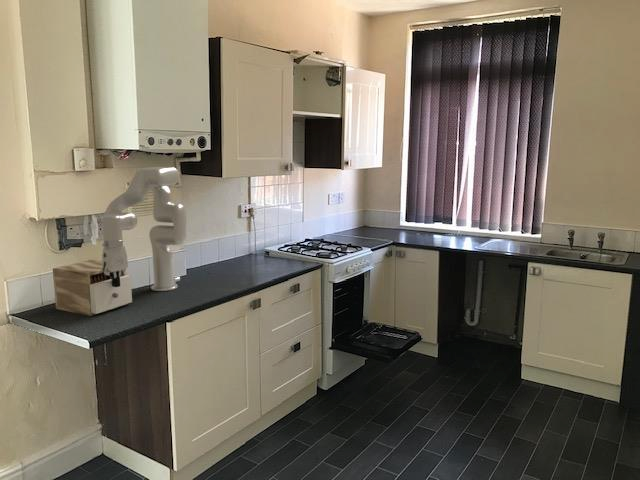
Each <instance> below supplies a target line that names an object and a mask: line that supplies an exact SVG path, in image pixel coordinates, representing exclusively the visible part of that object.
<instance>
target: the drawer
mask: <svg viewBox="0 0 640 480" xmlns="http://www.w3.org/2000/svg"><path fill="white" fill-rule="evenodd" d="M89 287H90V299H91V312H92V313H95V315H97V313H98V314H101V313H104V312H103V311H105V312H107V311H106V310H108V311H110V310H109V309H111V310H114V309H116V307H117V308H119V306H120V307H123V306H125V304H126V305H128V304H131V303H133V295H132V294H133V293H132V277H131V275H128V274H126V275H124V276H121V277H120V287H113V286H112V279H109V280H106V281H102V282H98V283H94V284H91V285H89ZM122 305H123V306H122ZM113 308H114V309H113ZM100 312H101V313H100Z"/></svg>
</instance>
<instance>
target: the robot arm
mask: <svg viewBox="0 0 640 480" xmlns="http://www.w3.org/2000/svg"><path fill="white" fill-rule="evenodd" d="M180 175H181V174H180V172H179V170H178V169H177V168H176V167H173V166H149V167H143V168H142V167H141V168H139V169H138V170H136V171H135V173H134V175H133V177H132V179H131V180H130V183H129V185H128V187H127V188H126V191H124V192H123V193H121V194H120V195H118V196H117V197H115V198H114V199H113V200H112V201H110V203H109V204H108V206H107V208H106V209H105V212H104V213H103V216H102V218H101V222H102V236H103V237H102V239H103V243H102V244H101V245H102V247H103V249H102V255H101V256H102V258H101V259H102V260H101V261H102V267H103V271H104V275H109V276H110V278H112V286H113V287H120V277H121V274H122V272H124V271H125V270H126V271H127V268H128V267H129V263H128V262H129V261H128V255H127V250H126V247H125V245H124V241H123V240H124V239H123V231H130V230H133V229H134V228H136V226H137V224H138V218H137V216H136V215H135V214H134V213H131V212H128V211H127V212H123V211H124V210H126V209H129V208H131V207H134V206H136V205H139V204H141V203H143V202H144V201H145V199H146V197H147V195H148V193H149V192H150V189H151V191H152V196H153V205H152V206H153V210H152V215H153V220H154V221H155V222H158V223H166V224H163V225H162V224H160V225H154V226H152V227H151V228H150V230H149V234H148V235H149V241H150V244H151V245H150V246H151V250H152V267H153V283H154V284H152V285H151V287H150V288H151V290H152V291H155V292H167V291H172V290H176V289H177V288H178V284H177V283H176V282H179V281H181V277H180V276H178V277H174V276H175V275H174V274H175V273H174V255H173V251H172V248H171V246H182V245H183V244H184V243H185V242H186V237H187V236H186V235H187V210H186V207H185V205H183V204H181V203H175V202H174V203H173V201H172V191H171V188H169V187H171V186H175V185H176V184H178V183H179V181H180ZM168 223H169V225H167V224H168ZM171 223H172V224H173V225H170V224H171Z"/></svg>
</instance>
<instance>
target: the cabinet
mask: <svg viewBox="0 0 640 480" xmlns="http://www.w3.org/2000/svg"><path fill="white" fill-rule="evenodd" d="M126 273H127V269H126V270H125V271H124V272H122V274H121V276H124V275H127V274H126ZM101 274H102V276H103V280H104V271H103V267H102V260H94V259H90V260H89V259H88V260H84V261H80V262H77V263H72V264H67V265H62V266H58V267H54V268H52V277H53V278H52V279H53V288H54V289H53V290H54V299H55V300H54V301H55V309H57V310H61V311H66V312H69V313H73V314H80V315H84V316H88V317H92V316H95V315H97V314H101V313H105V312H107V311H111V310H114V309H116V308H119V307H123V306H125V305H127V304H125V305H122V306H119V307H116V308H113V309H109V310H106V311H103V312H100V313H97V314H95V313H92V312H91V299H90V287H89V285H91V284H90V279H91V277H92V278H93V283H94V276H95V277H96V280H97V276H98V275H99V278H100V277H101ZM106 277H107V280H109V279H112V278H110V276H109V275H106ZM100 281H101V280H100Z"/></svg>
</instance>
